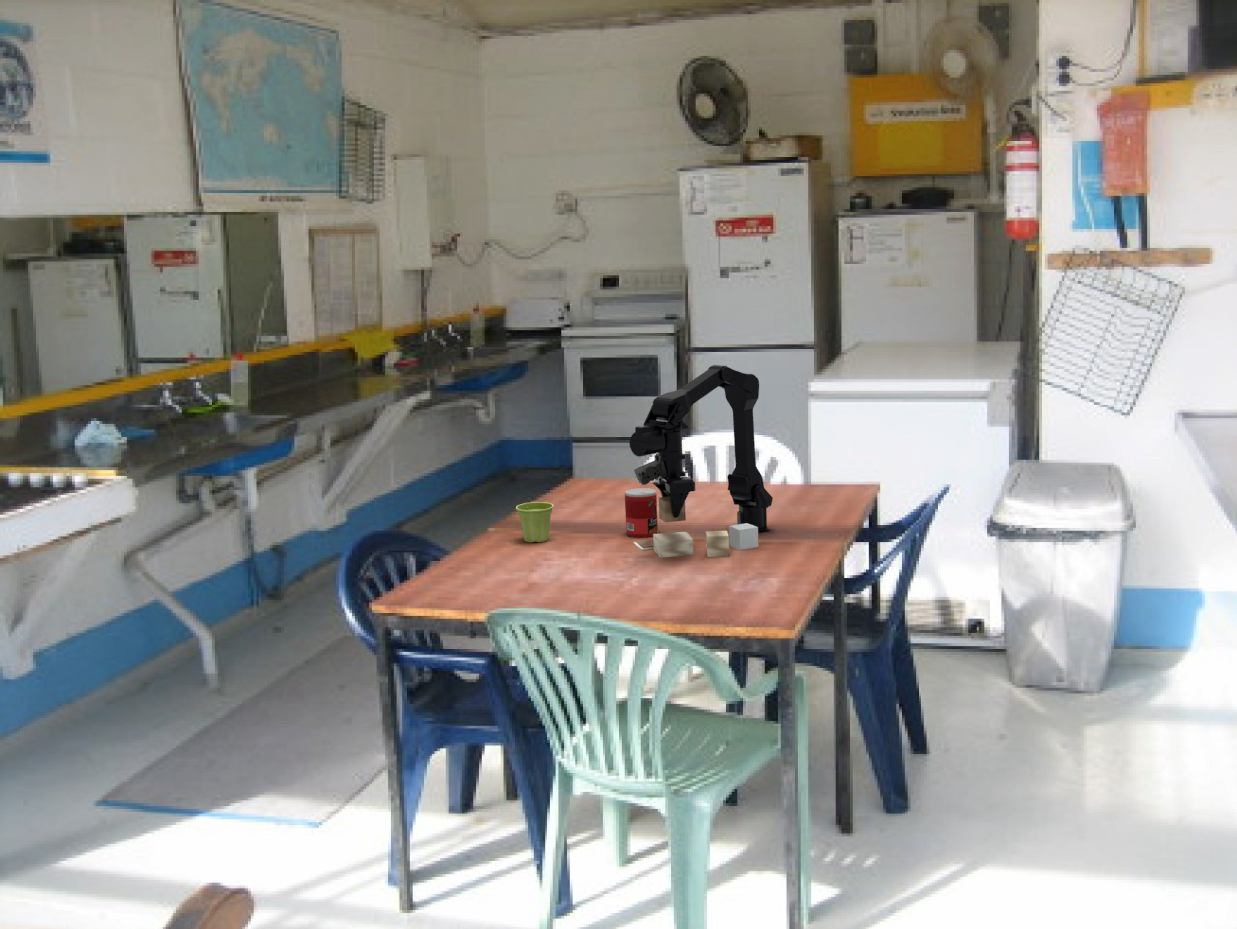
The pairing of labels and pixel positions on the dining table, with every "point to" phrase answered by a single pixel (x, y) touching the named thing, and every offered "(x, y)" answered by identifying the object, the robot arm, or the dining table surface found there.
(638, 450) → the robot arm
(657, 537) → the cream square block
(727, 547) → the maple block
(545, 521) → the plant pot
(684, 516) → the walnut block
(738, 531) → the grey block
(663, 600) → the dining table surface
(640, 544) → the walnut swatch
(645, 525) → the canned food
